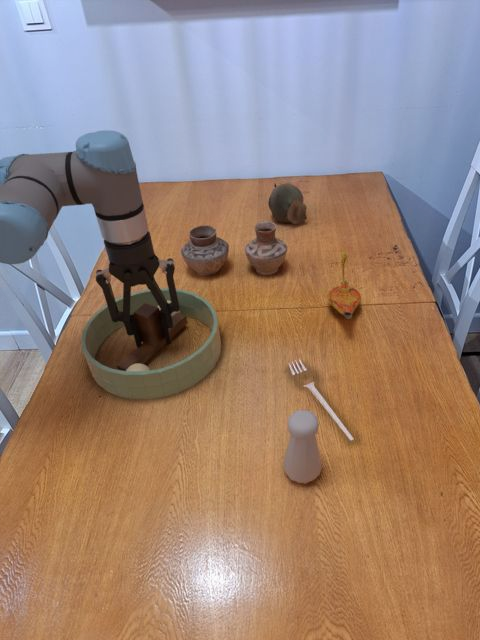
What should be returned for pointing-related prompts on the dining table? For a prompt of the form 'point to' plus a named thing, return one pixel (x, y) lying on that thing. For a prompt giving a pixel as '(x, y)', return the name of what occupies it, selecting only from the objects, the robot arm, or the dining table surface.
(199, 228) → the pair of painted pots
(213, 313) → the green ring
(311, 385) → the fork
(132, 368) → the dough ball
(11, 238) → the robot arm
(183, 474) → the dining table surface
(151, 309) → the brown inverted t block
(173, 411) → the dining table surface
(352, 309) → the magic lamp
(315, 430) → the salt shaker
